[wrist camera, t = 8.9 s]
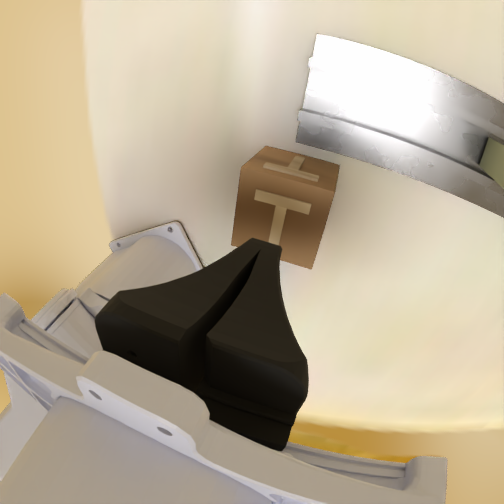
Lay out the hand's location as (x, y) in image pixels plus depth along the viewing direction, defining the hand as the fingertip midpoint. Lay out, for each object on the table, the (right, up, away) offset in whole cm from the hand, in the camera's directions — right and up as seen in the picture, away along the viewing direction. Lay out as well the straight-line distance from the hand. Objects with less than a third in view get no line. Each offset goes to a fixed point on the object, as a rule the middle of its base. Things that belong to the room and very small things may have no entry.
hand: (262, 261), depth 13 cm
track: (+15, +7, +2) cm, 17 cm away
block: (+3, +5, +8) cm, 9 cm away
